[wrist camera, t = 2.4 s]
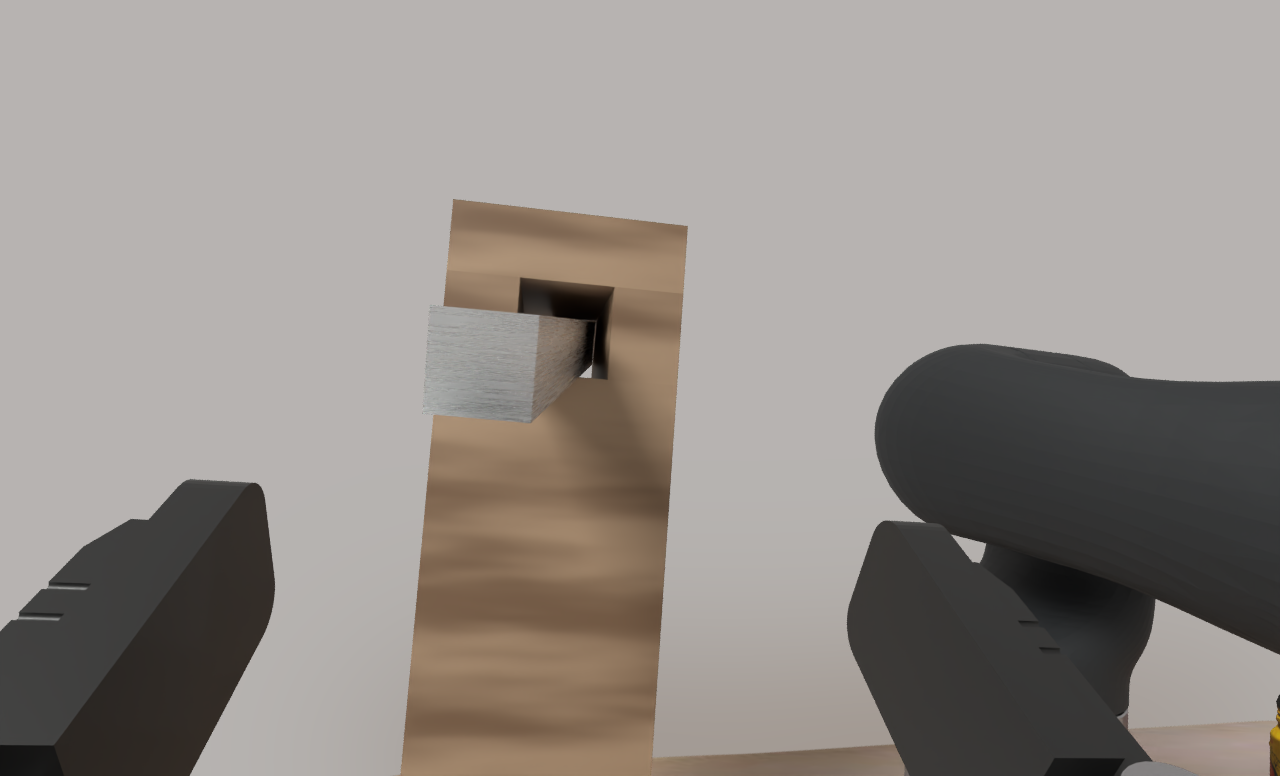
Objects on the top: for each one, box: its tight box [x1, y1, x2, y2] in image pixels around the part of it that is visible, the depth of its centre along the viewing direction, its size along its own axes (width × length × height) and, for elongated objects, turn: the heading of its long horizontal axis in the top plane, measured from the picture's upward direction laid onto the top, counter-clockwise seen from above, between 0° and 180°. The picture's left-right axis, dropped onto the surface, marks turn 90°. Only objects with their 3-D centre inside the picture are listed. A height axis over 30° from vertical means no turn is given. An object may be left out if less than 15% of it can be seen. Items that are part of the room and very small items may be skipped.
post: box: [401, 199, 688, 776], centre depth 33 cm, size 14×14×37 cm
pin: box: [423, 305, 596, 423], centre depth 27 cm, size 24×2×2 cm, turn 1°
